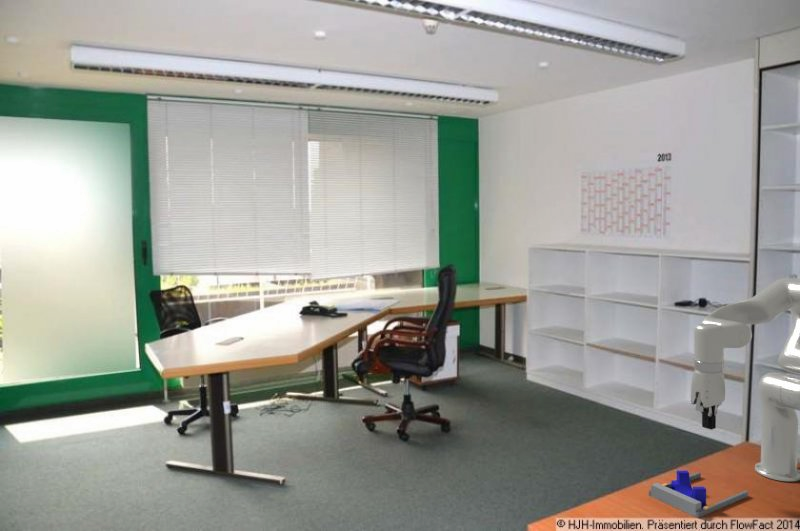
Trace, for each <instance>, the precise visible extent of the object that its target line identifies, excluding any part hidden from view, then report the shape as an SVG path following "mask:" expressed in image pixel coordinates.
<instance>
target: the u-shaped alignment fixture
mask: <svg viewBox="0 0 800 531" xmlns="http://www.w3.org/2000/svg"><path fill="white" fill-rule="evenodd" d="M701 475H702V473H701V472H699V471H697V472H694V473H692V474H689V478H690V482H692V480H693V481H695V480H697V478H698V479H700V477H702V476H701ZM694 479H695V480H694ZM650 487H651V488H650V489H648V496H650V497H651V498H653V499H656V500H658V501H661V502H662V503H665V504H667V505H669V506H671V507H673V508H675V509H678V510H680V511H682V512H684V513H686V514H688V515H691V516H692V517H695V518H697V519H699V518H701V517H704V516H706V515H709V514H711V513H714V512H715V511H718V510H720V509H722V508H724V507H727V506H729V505H732V504H735V503H737V502H739V501H741V500H743V499H745V498H749V491H748V490H746V489H745V490H743V491H741V492H738V493H736V494H734V495H730V496H729V497H727V498H724V499H722V500H720V501H717V502H714V503H713V502H712V503H709V504H706V506H705V507H703V509H701V502H700V501H698V500H695V499H693V498H691V497H688V496H686V495H684V494H682V493H679V492H677V491H675V490H672V489H671V482H667V483H665V482H664V483H663V484H661V483H658V482H655V483H653V484H651V486H650Z"/></svg>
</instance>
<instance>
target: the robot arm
mask: <svg viewBox="0 0 800 531" xmlns="http://www.w3.org/2000/svg"><path fill="white" fill-rule="evenodd" d="M788 310H790V314H791V318H792V319H791V320H792V327H791V330H790V332H789V334H788V337H787V339H786V341H785V343H784V345H783V347H782V349H781V351H780V354H779V356H778V359H777V360H778V361H777V362H778V366H779V368H781V370H783V371H785V372H788V373H791V375H790V374H786V373H782V372H775V371H772V372H768V373H765V374H763V375H762V376H761V377H760V380H759V383H758V392H759V397H760V402H761V403H760V404H761V435H760V436H761V439H760V440H761V443H760V444H761V446H760V461H759V462H757V463H755V465H754V470H755V471H756V472H757V473H758V474H760V476H762V477H765V478H767V479H771V480H776V481H780V482H798V481H800V469H799V468H798V464H799V463H800V455H798V447H799V446H798V445H799V441H798V440H799V418H798V415H797V412H796V411H800V377H798V376H795V375H799V376H800V278H792V277H791V278H790V277H784V278H779V279H777V280H775V281H774V282H773V283H771V284H769V285H768V286H766V288H764V289H762V290H761V291H760V292H759V293H757V294H756V295H754V296H753V297H751V298H748V299H744V300H740V301H738V302H737V301H736V302H733V303H731V304H727V305H723V306H722V307H719V308H717V309H715V310H714V311H712V312H710V314H708V315H706V317H704V319H703V320H702V321H701V323H697V324H696V325H695V327H694V330H693V332H694V333H693V334H694V335H693V336H694V344H693V345H694V349H693V350H694V354H693V356H694V358H693V360H694V361H693V362H694V371H692V372H693V373H692V378H691V385H690V404H692V405H695V411H697V412H699V413H700V414H701V425H702V426H701V427H702V428H705V429H707V430H711V431H713V430H714V429H715V430H716V428H717V426H716V424H717V417H716V416H717V414H718V408H719V407H720V406H721V405H722V404H723V403H724V402H725V400H726V382H725V374H724V368H725V367H724V365H725V364H724V363H725V362H724V361H725V360H724V359H725V358H724V354H725V353H724V349H739V348H743V347H746V346H747V345H749V343H750V342H751V341H752V338H753V333H752V329H751V328H750V327H749V326H748V325H760V324H767V323H772V321H774V320H776V319H777V318H778V317H779V316H781V315H782V314H784V313H785V312H786V311H788ZM792 374H795V375H792Z"/></svg>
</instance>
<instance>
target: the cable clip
mask: <svg viewBox="0 0 800 531" xmlns="http://www.w3.org/2000/svg"><path fill="white" fill-rule="evenodd" d="M689 475H690V472H689V471H688V470H676V480H672V479H671V489H672V490H675V491H677V492H679V493H682V494H684V495H686V496H688V497H691V498H693V499H695V500H698V501H700V502H701V509H703V507H705V506H707V488H706V487H705V486H692V483H691V481H690V478H689Z"/></svg>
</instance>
